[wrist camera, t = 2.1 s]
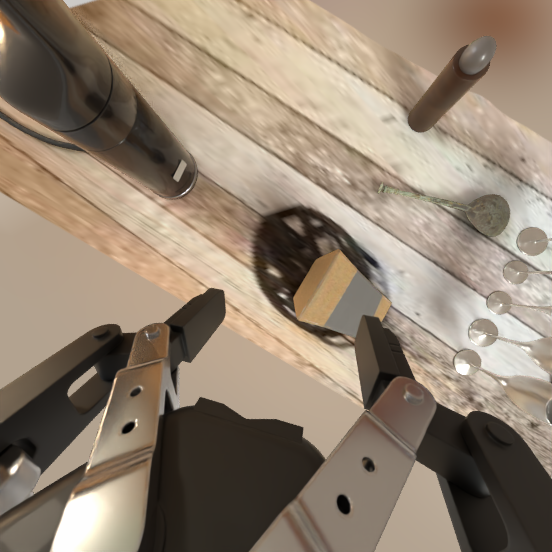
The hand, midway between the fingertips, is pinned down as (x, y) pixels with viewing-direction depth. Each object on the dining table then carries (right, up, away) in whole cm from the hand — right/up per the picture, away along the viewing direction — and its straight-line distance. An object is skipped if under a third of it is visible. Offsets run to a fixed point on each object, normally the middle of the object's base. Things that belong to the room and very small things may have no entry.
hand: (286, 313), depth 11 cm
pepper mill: (+24, +29, +22) cm, 43 cm away
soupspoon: (+27, +14, +22) cm, 38 cm away
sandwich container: (+11, -2, +23) cm, 26 cm away
